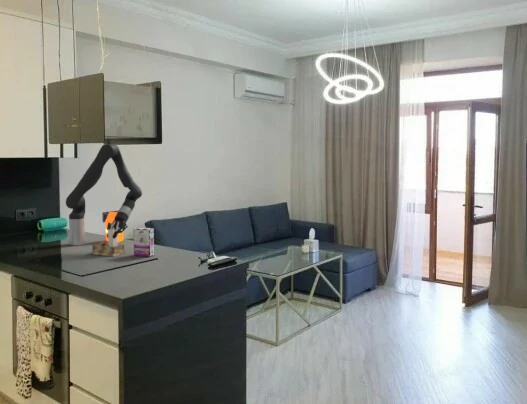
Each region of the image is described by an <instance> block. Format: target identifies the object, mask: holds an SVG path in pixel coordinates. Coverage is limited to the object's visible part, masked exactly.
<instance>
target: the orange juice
mask: <svg viewBox="0 0 527 404" xmlns="http://www.w3.org/2000/svg"><path fill="white" fill-rule="evenodd" d="M117 212H118V211H109V212H108V214H107V216H106V218H105V242H108V237H107V234H108V230H107V226H108V223H109V222H110V223H112V222H113V221H114V219H115V216H116V214H117ZM113 228H114V227H113ZM123 241H124V231H123V232H122V233H119V234H118V243H120V242H123Z"/></svg>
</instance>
